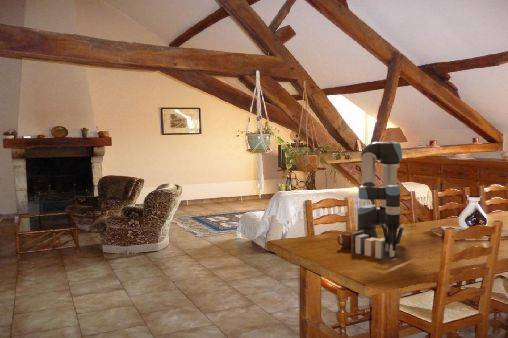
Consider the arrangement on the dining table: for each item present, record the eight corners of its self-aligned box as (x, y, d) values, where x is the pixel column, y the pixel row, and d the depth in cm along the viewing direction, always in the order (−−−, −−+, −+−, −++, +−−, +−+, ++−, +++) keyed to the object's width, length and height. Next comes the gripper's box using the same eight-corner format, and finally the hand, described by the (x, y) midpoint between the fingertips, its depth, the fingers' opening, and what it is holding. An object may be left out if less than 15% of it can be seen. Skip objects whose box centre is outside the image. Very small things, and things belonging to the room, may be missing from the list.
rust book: (364, 255, 260) (364, 239, 260) (372, 252, 266) (372, 237, 265) (371, 256, 257) (371, 241, 256) (378, 254, 263) (379, 238, 262)
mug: (348, 247, 284) (348, 231, 283) (358, 250, 276) (358, 233, 275) (333, 249, 279) (333, 233, 278) (342, 253, 271) (342, 236, 270)
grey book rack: (350, 255, 266) (351, 233, 265) (361, 251, 273) (361, 230, 272) (390, 264, 248) (390, 240, 247) (400, 260, 255) (400, 237, 254)
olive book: (374, 257, 256) (375, 240, 255) (382, 254, 261) (382, 237, 260) (381, 259, 253) (381, 241, 252) (388, 256, 258) (389, 238, 257)
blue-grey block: (354, 253, 265) (355, 236, 264) (362, 250, 270) (362, 233, 270) (360, 254, 262) (361, 237, 261) (368, 251, 267) (368, 235, 267)
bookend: (381, 259, 253) (381, 244, 252) (388, 256, 258) (389, 242, 257) (387, 260, 250) (387, 245, 249) (394, 257, 255) (394, 243, 255)
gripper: (378, 213, 252) (377, 255, 254) (400, 216, 243) (399, 259, 245) (385, 211, 257) (384, 252, 260) (407, 214, 248) (406, 256, 250)
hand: (392, 256), depth 252 cm, fingers closed
